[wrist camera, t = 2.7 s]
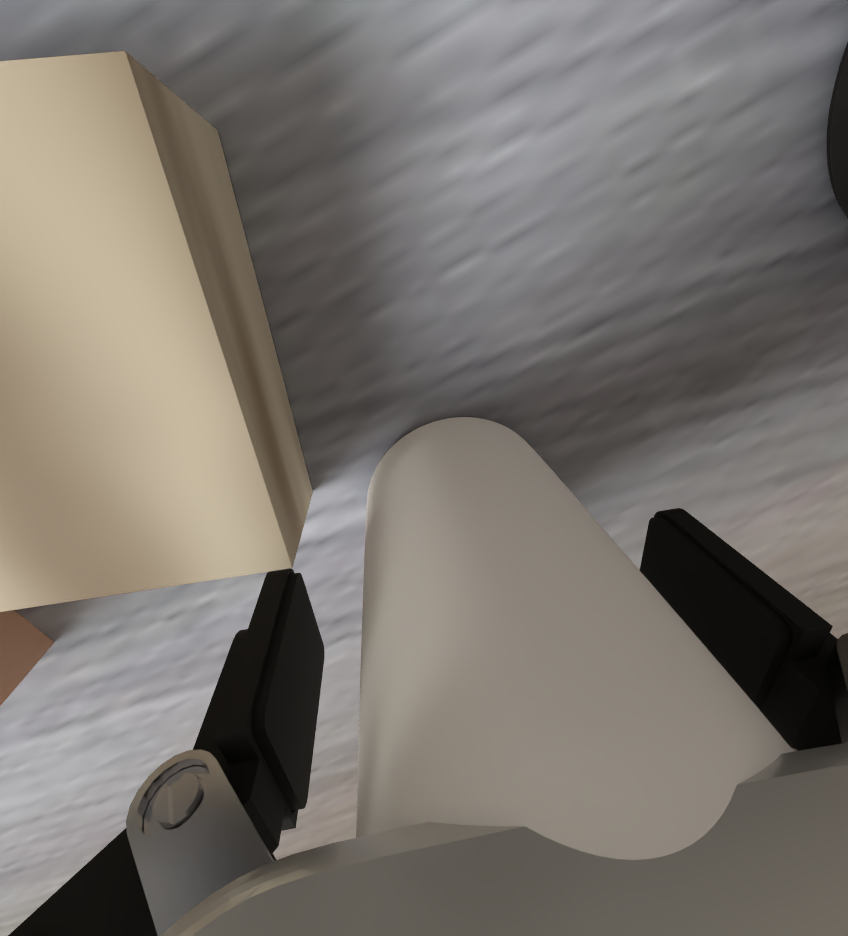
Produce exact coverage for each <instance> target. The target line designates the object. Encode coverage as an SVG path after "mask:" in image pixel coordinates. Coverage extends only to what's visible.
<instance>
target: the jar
mask: <svg viewBox="0 0 848 936" xmlns="http://www.w3.org/2000/svg"><path fill="white" fill-rule="evenodd" d="M827 163H828V171H829V176H830V181H831V185H832V188H833V192H834V194H835V197H836V199H837V201H838V203H839V205H840V207H841V209H842V210H843V212H844V214H845V215H846V217H847V218H848V43H847V45H846V48H845V51H844V54H843V57H842V60H841V63H840V66H839V70H838V73H837V77H836V81H835V85H834V89H833V93H832V99H831V104H830V110H829V117H828V126H827Z"/></svg>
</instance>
